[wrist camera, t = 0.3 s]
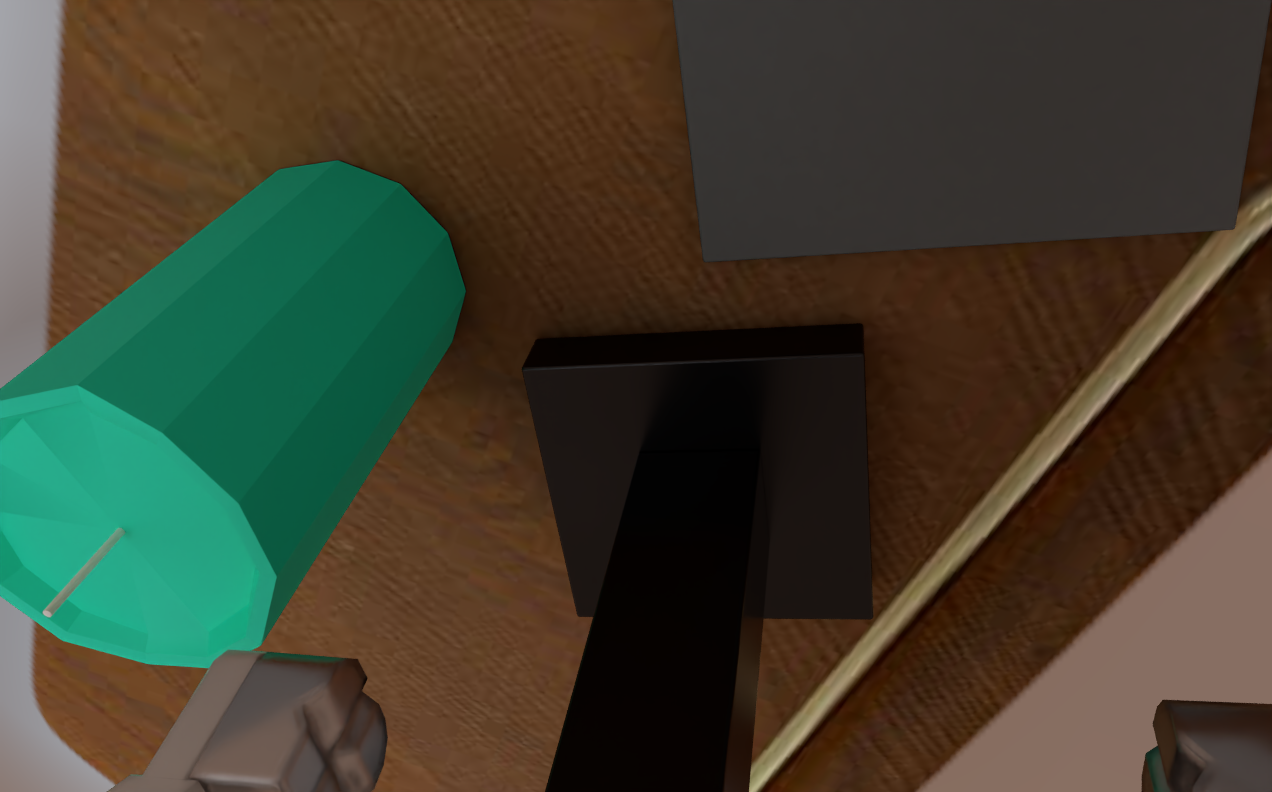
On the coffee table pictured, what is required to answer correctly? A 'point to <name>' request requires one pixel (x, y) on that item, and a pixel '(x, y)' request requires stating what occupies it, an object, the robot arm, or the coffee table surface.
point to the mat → (963, 120)
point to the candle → (221, 417)
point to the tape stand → (696, 532)
